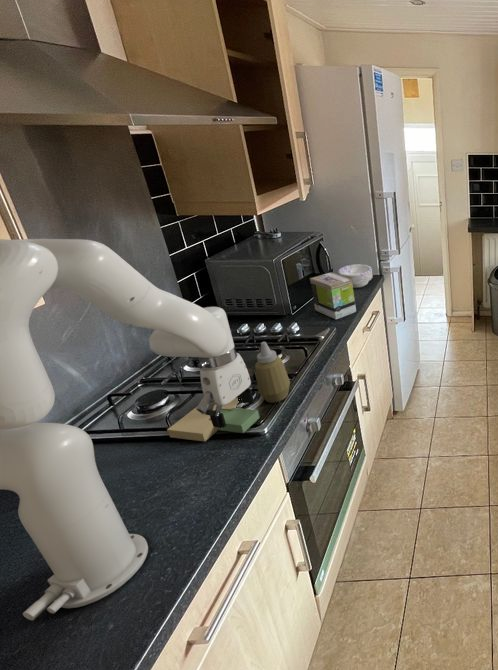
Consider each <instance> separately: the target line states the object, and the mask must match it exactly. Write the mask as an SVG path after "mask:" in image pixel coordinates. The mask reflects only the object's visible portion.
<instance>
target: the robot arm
mask: <svg viewBox="0 0 498 670" xmlns="http://www.w3.org/2000/svg"><path fill="white" fill-rule="evenodd" d="M50 289H64V290H68V291H71V292H72V293H74V294H76V295H77V296H79V297H81V298H82V299H83V300H86V301H87V302H88V303H90V304H91V305H93V306H94V307H96V308H97V309H99V310H100V311H101V312H103V313H104V314H105V315H107V316H108V317H110V318H111V319H113V320H115V321H117V322H119V323H123V324H127V325H130V326H134V327H138V328H142V329H150V330H154V331H153V332H151V334H150V336H149V339H148V345H149V348H150V350H151V352H152V353H154V354H156V355H158V356H161V357H167V358H198V361H199V363H198V364H197V368H198V369H199V377H200V384H201V389H202V393H203V397H202V399H201V400H200V401H199V403H198V404H197V406H196V407H197V408H196V407H195V408H196V410H197V411H199V412H200V413H201V414H204V415H210V418H211V421H212V424H213V426H214V427H221V428H224V427H226V422H225V419H224V416H223V414H222V413H220V412H221V409H222V406H224V405H227V404H228V403H230V402H231V401H232V400H233V399H235V398H238V396H239V397H240V398H241V400H242V402H243V403H245V404H254V403H255V399H254V396H253V391H252V389H253V382H254V375H255V374H254V373H255V369H254V368H247V365H246V362H244V359H243V357H242V356H241V354H240V353H238V352H237V350H236V346H235V343H234V339H233V336H232V335H233V334H232V330H231V328H230V324H229V320H228V315H227V313H226V311H225V310H224V309H223V308H221V307H220V306H219V307H218V306H206V307H202V306H200V305H198V304H196V303H194V302H192V301H189V300H187V299H185V298H182V297H180V296H178V295H175V294H173V293H171V292H168V291H167V290H163V289H161V288H159V287H157V286H156V285H155V284H153V283H152V282H151V281H149V280H148V279H147V278H146V277H145V276H144V275H143V274H142V273H140V272H139V271H138V270H136V269H135V268H134V267H133V266H132V265H131V264H129V263H128V262H127V261H126V260H124V258H122V257H121V256H120V255H119V254H118V253H117V252H115V251H114V250H113V249H111V248H110V247H109V246H107V245H106V244H104V243H102V242H100V241H95V240H92V239H84V238H83V239H81V238H29V239H27V238H23V239H18V238H17V239H2V238H0V490H4V491H12V492H14V493H15V494H17V496H18V498H19V504H18V508H17V514H18V518H19V521H20V523H21V524H22V526H23V528H24V529H25V531H26V532H27V533H28V535H29V536H30V538H31V540H32V541H33V543H34V544H35V546H36V548H37V550H38V551H39V553H40V554H41V556H42V557H43V559H44V560H45V563H47V565H48V567H49V568H50V570H51V571H52V573H53V575H51V576H50V577H49V578H48V579H47V583H48V584H49V585H50V586H48V588H46V589H45V590H44V594H43V595H42V596H41V597H40V598H39V599H38V600H36V601H34V602H33V603H32V604H31V605H30V606H29V607H28V608H27V609H26V610H25V611H23V612H22V616H23V617H24V618H26V619H27V620H29V621H35V620H36V618H38V617H39V616H40V615H41V614H42V613H43V612H44V611H45V610H46V611H47V612H48V613H50V614H55V613H56V612H57V611H59V610H60V608H63V609H75V608H80V607H84V606H87V605H90V604H92V603H96V602H98V601H99V600H102V599H103V598H105V597H107V596H109V595H110V594H112V593H114V592H115V591H117V590H118V589H119V588H121V587H122V586H123V585H125V584H126V583H127V582H128V581H129V580H130V579H131V578H132V577H133V576H134V575H135V574H136V573H137V572H138V571H139V569H140V568H141V567H142V566H143V564H144V562H145V561H146V558H147V556H148V553H149V545H148V542H147V539H146V538H145V537H144V536H142V535H140V534H137V533H129V531H128V529H127V527H126V525H125V523H124V521H123V519H122V517H121V515H120V512H119V511H118V509H117V507H116V505H115V503H114V501H113V498H112V497H111V495H110V493H109V491H108V489H107V487H106V486H105V484H104V481H103V479H102V478H101V477H102V476H101V475H100V472H99V470H98V467H97V463H96V456H95V448H94V443H93V440H92V438H91V436H90V435H89V434H88V433H87V432H86V431H85V430H83V429H82V428H80V427H78V426H74V425H71V424H67V423H59V422H39V421H41V420H43V419H44V418H45V417H46V416H47V415H48V414H50V412H51V410H52V408H53V407H54V404H55V401H56V397H55V396H56V395H55V390H54V386H53V384H52V381H51V379H50V377H49V374H48V373H47V370H46V369H45V366H44V364H43V361H42V360H41V357H40V355H39V353H38V350H37V348H36V347H35V346H36V345H35V344H34V341H33V337H32V334H31V332H30V327H29V326H30V318H31V315H32V313H33V312H34V309H35V307H36V305H37V304H38V302H39V301H40V300H41V299H42V297H43V296H44V295H46V293H47V292H48V290H50ZM208 404H209V405H208ZM207 405H208V408H207ZM214 405H217V406H216V409H215V410H213V408H214Z"/></svg>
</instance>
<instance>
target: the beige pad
mask: <svg viewBox="0 0 498 670" xmlns="http://www.w3.org/2000/svg"><path fill="white" fill-rule="evenodd" d="M238 398H239V397H236V398H235V399H233V400H232V401H231V402H230V403H228V404H227V405H224V406H222V409H221V410H227V411H231V410H232V409H233V408H236V406H237V404H238V403H239V401H238ZM239 400H240V399H239ZM208 405H209V404H208ZM208 405H207V408H208ZM216 406H217V405H214V408H213V410H215V409H216ZM196 408H197V406H196V407H194V408H193V409H192V410H191V411H189V412H188V413H186V414H185V415H184V416H183V417H182V418H180V419H179V420H177V421H176V422H175V423H173V424H172V425H171V426H170V427H168V428H167V429H166V432H167V433H168V436H169V438H172V439H179V440H180V439H181V440H190V441H197V442H198V441H199V442H206V441H208V440H209V439H210V438H211V437H213V435H215V433H217V432H218V431H220V430H219V428H218V427H214V426H213V424H212V421H211V418H210V415H204V414H201V413H200V412H199V411H197V410H196ZM241 409H244V408H241Z"/></svg>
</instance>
